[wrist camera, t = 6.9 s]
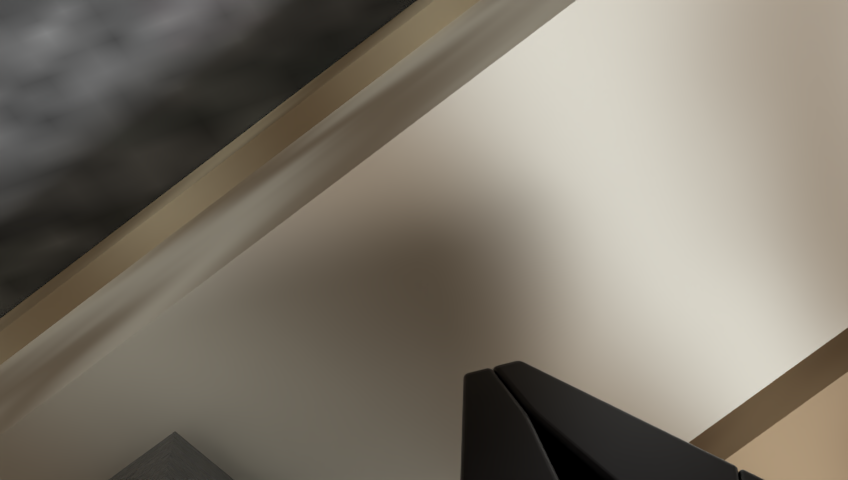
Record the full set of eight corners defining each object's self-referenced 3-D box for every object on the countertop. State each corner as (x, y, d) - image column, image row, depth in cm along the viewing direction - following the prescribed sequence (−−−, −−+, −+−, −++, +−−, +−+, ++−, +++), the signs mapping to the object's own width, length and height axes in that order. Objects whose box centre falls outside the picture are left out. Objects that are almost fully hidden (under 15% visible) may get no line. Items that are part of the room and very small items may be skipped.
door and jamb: (388, 738, 21) (439, 1055, 15) (-122, 411, 13) (-488, 796, 7) (936, 346, 20) (1237, 501, 14) (751, -256, 12) (1258, -526, 6)
